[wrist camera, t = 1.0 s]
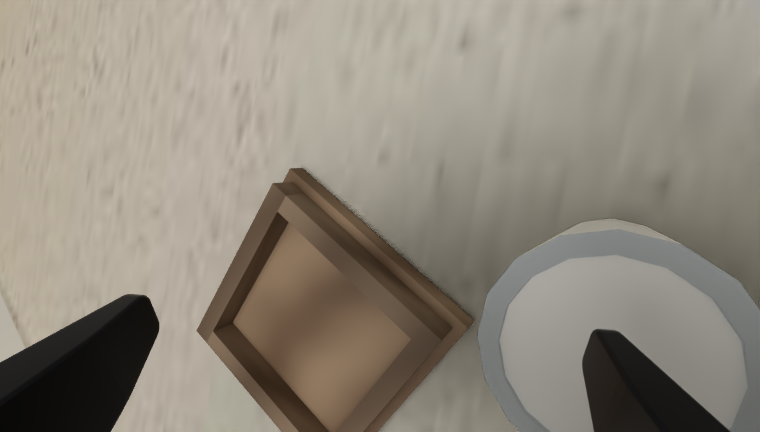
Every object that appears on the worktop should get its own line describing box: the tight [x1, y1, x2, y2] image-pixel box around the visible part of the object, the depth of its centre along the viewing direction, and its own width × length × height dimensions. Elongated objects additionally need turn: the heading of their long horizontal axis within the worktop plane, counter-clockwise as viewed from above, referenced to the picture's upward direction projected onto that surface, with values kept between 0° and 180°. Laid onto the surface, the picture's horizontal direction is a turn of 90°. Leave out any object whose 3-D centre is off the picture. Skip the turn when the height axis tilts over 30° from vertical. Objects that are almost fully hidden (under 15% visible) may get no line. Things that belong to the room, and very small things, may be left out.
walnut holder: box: [197, 168, 474, 432], centre depth 23 cm, size 12×12×2 cm
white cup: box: [477, 218, 760, 432], centre depth 14 cm, size 7×7×7 cm
